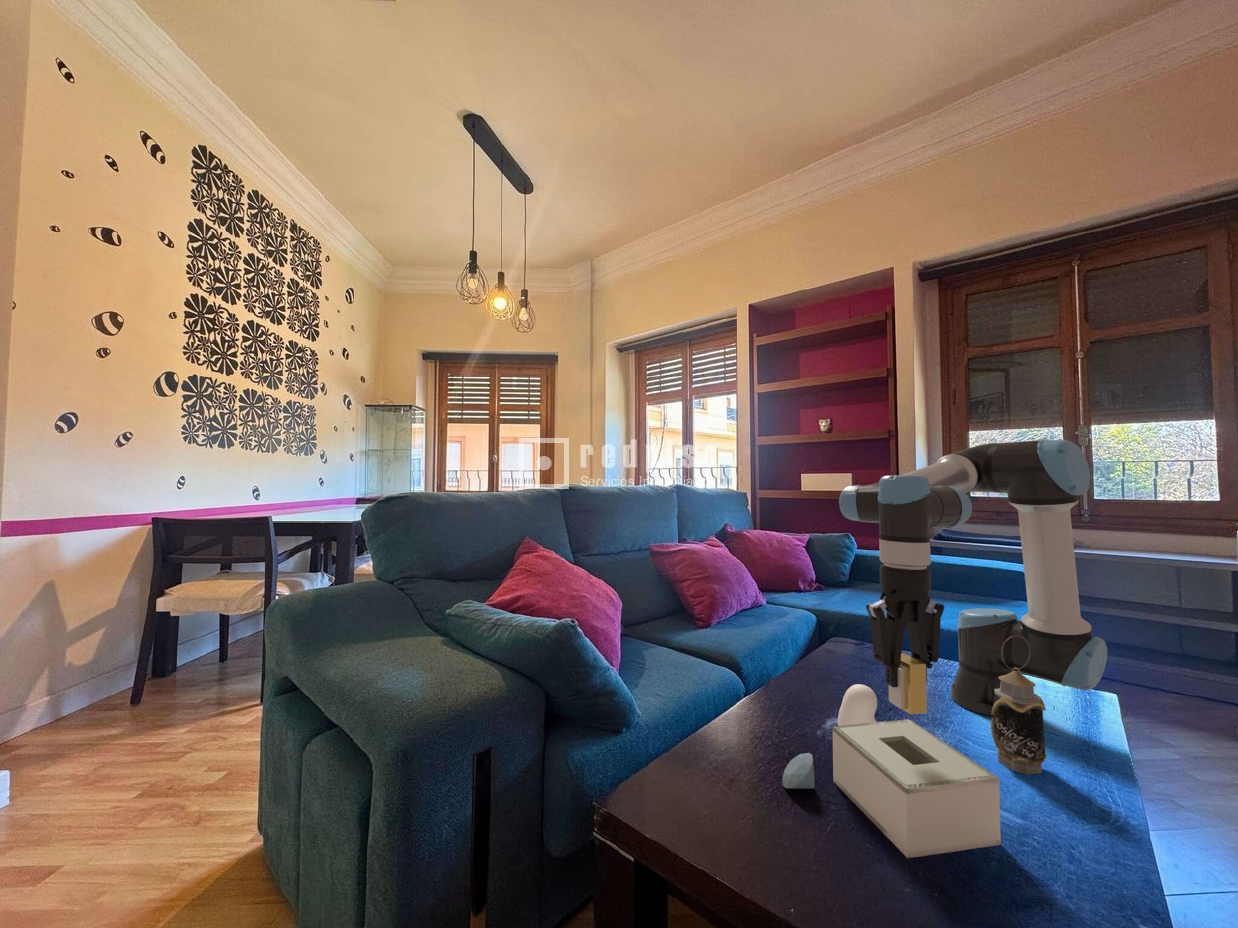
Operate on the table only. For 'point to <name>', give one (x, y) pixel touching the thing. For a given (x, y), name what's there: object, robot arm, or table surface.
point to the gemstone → (799, 772)
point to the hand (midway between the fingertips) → (906, 704)
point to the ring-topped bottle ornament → (1018, 722)
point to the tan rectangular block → (914, 684)
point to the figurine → (858, 706)
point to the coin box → (916, 787)
